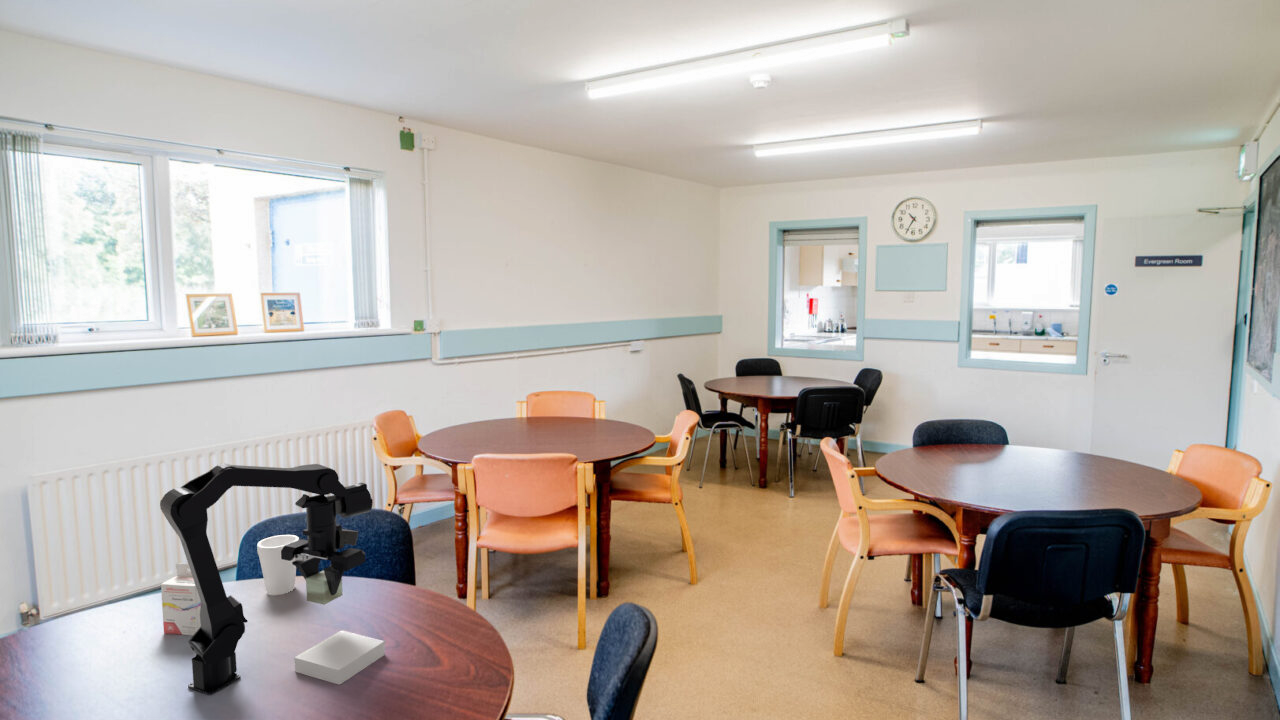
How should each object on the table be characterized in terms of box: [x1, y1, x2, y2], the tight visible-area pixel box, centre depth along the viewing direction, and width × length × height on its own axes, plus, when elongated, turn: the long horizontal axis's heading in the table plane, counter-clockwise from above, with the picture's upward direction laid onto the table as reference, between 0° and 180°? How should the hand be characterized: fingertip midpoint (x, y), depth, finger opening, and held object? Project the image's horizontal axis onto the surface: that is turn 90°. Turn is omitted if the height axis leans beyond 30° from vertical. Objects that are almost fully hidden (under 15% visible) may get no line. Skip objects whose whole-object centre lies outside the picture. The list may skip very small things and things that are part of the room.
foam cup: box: [256, 534, 300, 596], centre depth 172 cm, size 10×9×13 cm
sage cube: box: [305, 569, 343, 606], centre depth 146 cm, size 5×5×5 cm
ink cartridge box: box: [160, 562, 201, 636], centre depth 151 cm, size 9×5×15 cm, turn 84°
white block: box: [293, 629, 386, 685], centre depth 138 cm, size 12×12×3 cm
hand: (324, 592), depth 147 cm, fingers closed on sage cube, 5 cm apart
